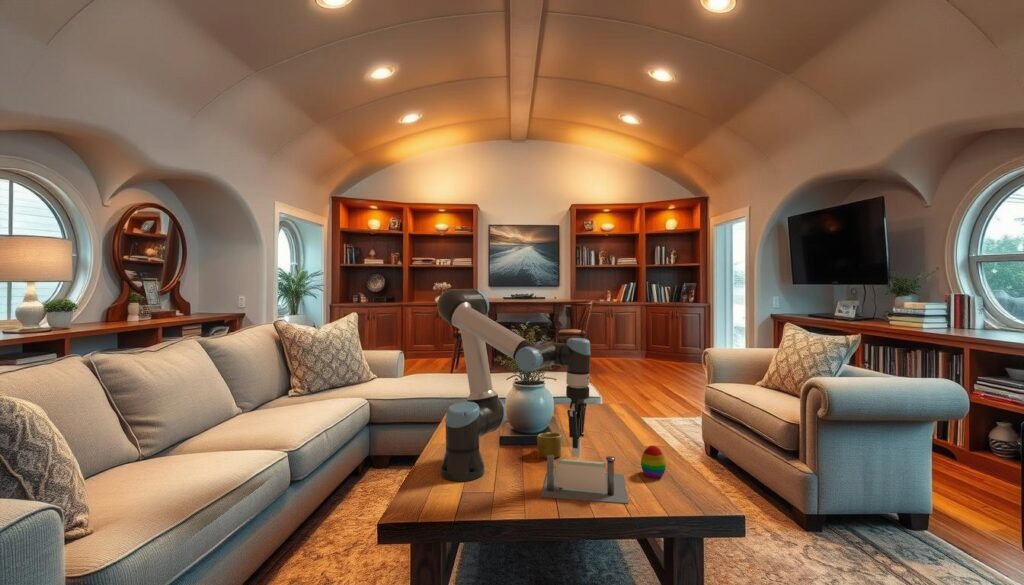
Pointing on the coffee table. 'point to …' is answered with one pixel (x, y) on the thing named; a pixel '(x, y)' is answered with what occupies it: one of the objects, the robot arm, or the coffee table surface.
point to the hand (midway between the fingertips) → (576, 456)
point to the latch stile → (550, 472)
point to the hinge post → (610, 475)
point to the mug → (549, 444)
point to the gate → (581, 475)
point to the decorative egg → (653, 462)
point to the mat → (590, 492)
